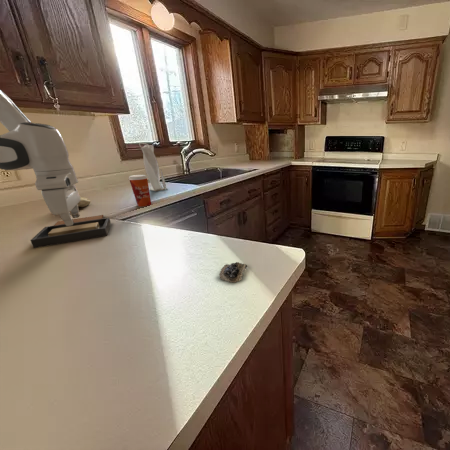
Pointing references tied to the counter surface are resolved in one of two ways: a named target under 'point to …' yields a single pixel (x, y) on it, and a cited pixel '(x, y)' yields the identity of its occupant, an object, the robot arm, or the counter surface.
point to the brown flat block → (81, 219)
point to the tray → (46, 240)
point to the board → (74, 229)
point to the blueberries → (232, 272)
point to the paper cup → (140, 189)
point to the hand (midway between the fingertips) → (73, 221)
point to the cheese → (83, 202)
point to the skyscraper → (152, 168)
